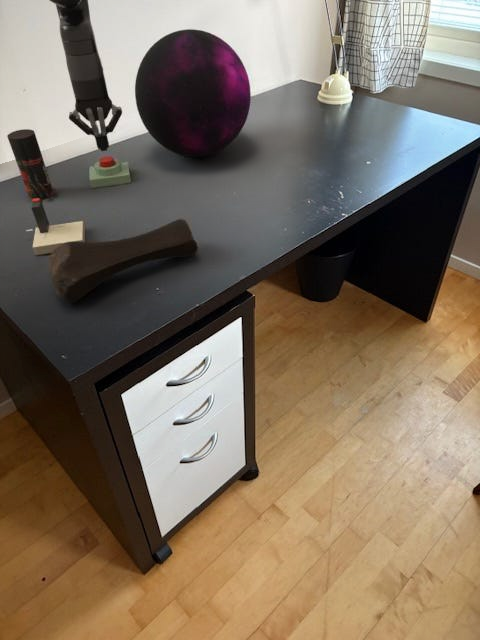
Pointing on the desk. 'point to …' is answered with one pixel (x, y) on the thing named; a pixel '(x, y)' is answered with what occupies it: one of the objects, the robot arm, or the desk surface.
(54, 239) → the cream flat slab
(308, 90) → the desk surface
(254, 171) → the desk surface
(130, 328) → the desk surface
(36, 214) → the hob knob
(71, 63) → the robot arm
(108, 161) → the red push button
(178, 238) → the dark brown bone
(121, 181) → the box
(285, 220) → the desk surface
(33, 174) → the deodorant
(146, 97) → the mottled black-purple ball
